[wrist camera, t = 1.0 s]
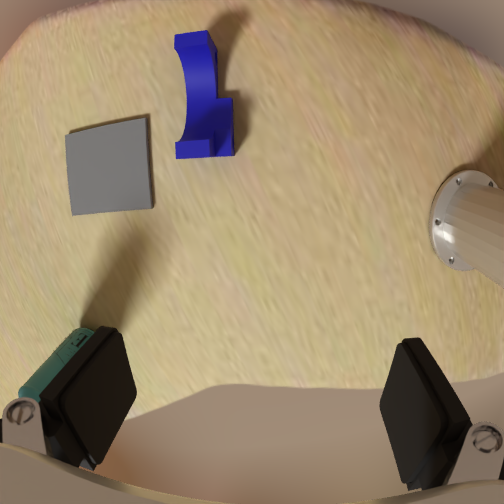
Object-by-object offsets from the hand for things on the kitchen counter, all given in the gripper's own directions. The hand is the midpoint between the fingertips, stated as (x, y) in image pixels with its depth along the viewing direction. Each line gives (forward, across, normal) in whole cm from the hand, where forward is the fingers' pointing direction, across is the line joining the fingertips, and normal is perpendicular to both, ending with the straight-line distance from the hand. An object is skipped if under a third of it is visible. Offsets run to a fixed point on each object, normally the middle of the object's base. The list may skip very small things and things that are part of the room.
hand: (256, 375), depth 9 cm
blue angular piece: (+25, +6, -13) cm, 28 cm away
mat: (+24, +19, -6) cm, 31 cm away
